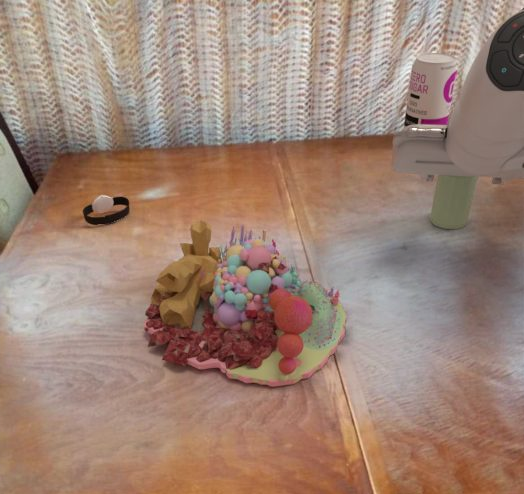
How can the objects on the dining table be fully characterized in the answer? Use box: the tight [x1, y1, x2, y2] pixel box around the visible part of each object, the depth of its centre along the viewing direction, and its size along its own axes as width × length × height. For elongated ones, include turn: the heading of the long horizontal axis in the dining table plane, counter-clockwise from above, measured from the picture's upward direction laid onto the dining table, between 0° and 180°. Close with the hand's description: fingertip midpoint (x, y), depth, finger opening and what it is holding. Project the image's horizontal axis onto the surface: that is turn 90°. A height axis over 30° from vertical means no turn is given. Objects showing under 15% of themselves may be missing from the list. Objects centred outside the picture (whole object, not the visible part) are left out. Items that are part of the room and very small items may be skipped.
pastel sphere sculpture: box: [142, 220, 347, 387], centre depth 65 cm, size 25×24×9 cm
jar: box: [429, 175, 479, 230], centre depth 80 cm, size 6×6×10 cm
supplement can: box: [403, 52, 459, 128], centre depth 103 cm, size 8×8×15 cm
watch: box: [82, 194, 131, 226], centre depth 87 cm, size 8×5×4 cm, turn 124°
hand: (461, 177), depth 75 cm, fingers open, 8 cm apart
